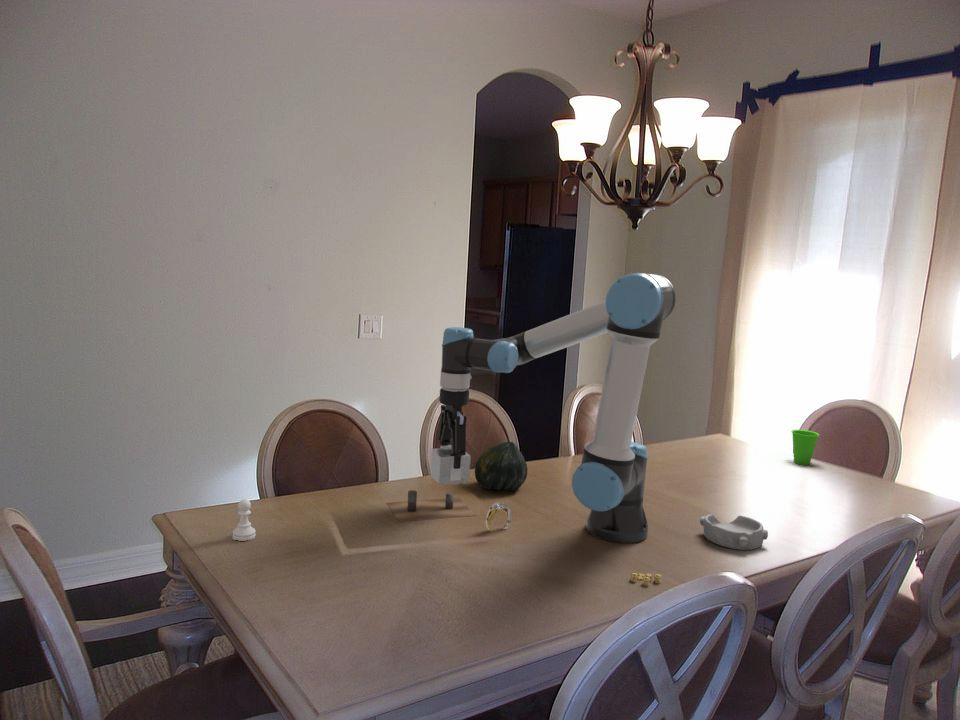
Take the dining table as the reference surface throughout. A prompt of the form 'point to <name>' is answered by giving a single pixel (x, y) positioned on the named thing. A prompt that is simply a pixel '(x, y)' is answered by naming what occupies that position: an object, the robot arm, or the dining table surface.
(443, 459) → the white open box
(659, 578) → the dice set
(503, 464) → the squash
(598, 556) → the dining table surface
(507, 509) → the bracelet
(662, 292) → the robot arm
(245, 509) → the chess pawn
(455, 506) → the peg board
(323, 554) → the dining table surface
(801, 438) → the cup
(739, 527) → the dish
